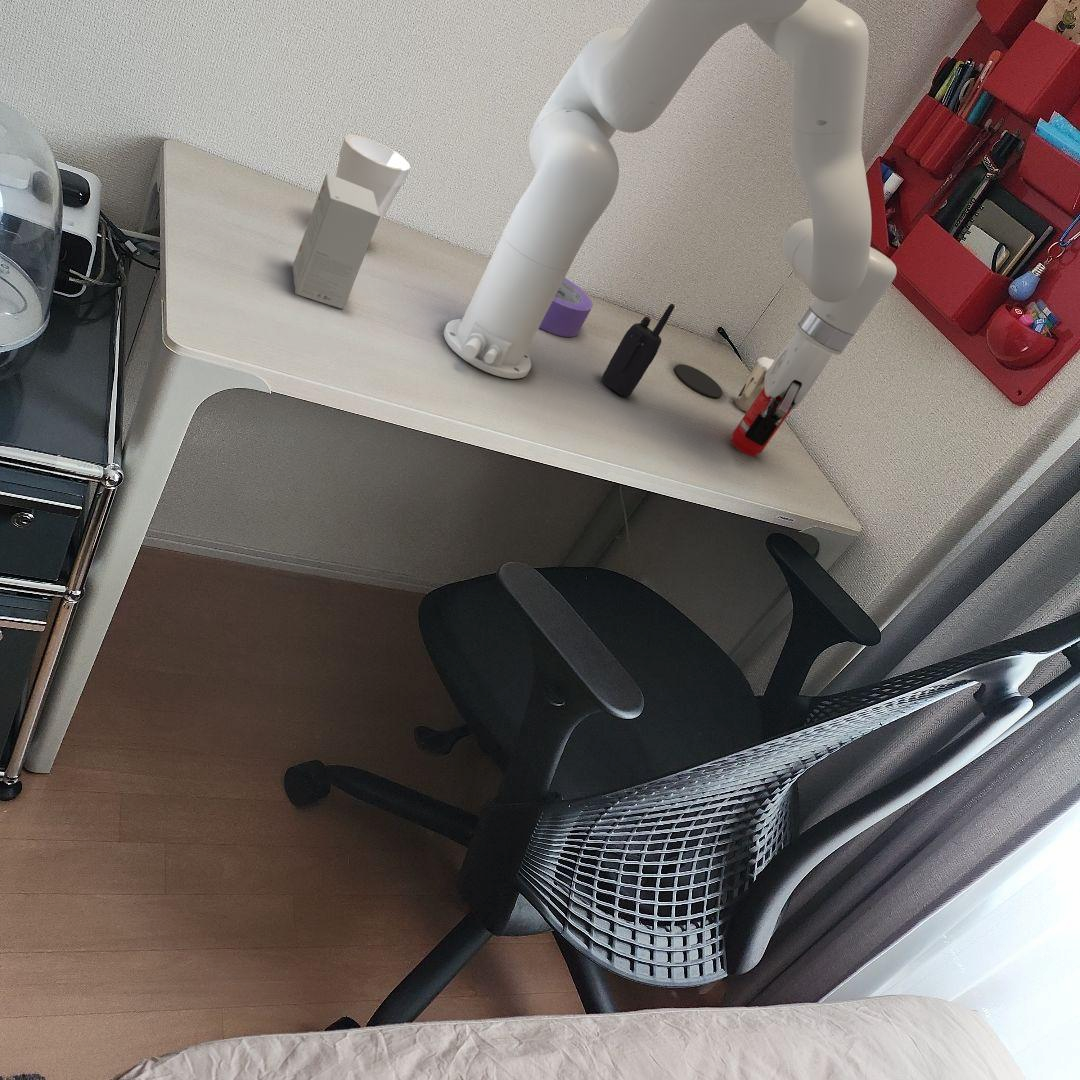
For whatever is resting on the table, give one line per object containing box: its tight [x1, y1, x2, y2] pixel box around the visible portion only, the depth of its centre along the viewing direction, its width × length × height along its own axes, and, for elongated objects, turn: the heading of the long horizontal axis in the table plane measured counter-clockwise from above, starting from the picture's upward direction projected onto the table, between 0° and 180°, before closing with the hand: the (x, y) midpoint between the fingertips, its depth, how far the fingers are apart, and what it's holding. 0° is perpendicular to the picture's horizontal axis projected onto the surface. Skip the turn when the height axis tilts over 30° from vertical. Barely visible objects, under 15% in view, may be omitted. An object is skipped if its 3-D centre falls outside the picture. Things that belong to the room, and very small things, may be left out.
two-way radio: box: [601, 303, 676, 397], centre depth 142 cm, size 6×4×15 cm
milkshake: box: [734, 356, 776, 413], centre depth 163 cm, size 4×5×10 cm
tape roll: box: [538, 277, 594, 338], centre depth 155 cm, size 12×12×5 cm
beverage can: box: [730, 387, 795, 457], centre depth 149 cm, size 5×5×12 cm
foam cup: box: [335, 134, 411, 236], centre depth 141 cm, size 10×9×13 cm
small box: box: [292, 173, 380, 310], centre depth 124 cm, size 8×6×13 cm
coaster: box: [673, 363, 724, 400], centre depth 165 cm, size 9×9×1 cm
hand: (754, 431), depth 151 cm, fingers closed on beverage can, 5 cm apart
